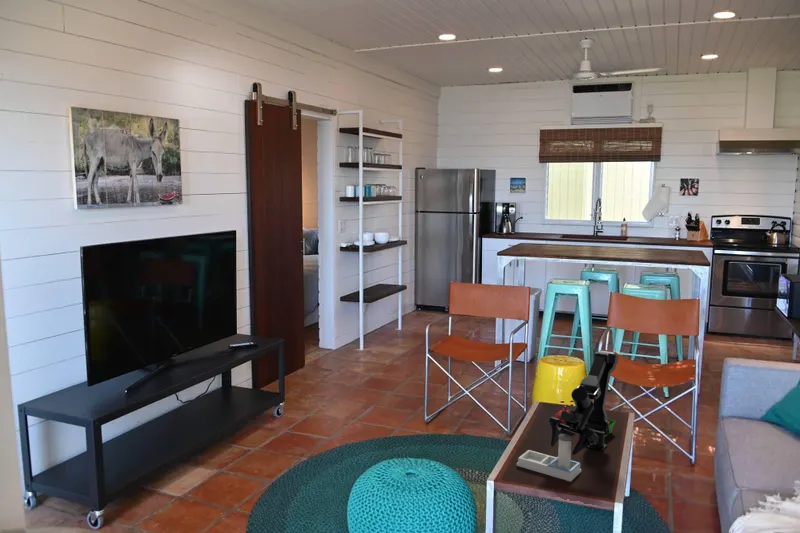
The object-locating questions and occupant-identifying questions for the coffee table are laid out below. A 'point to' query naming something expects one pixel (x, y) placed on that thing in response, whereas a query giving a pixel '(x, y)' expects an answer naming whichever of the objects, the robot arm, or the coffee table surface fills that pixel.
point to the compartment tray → (548, 465)
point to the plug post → (564, 451)
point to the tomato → (560, 414)
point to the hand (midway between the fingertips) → (562, 450)
